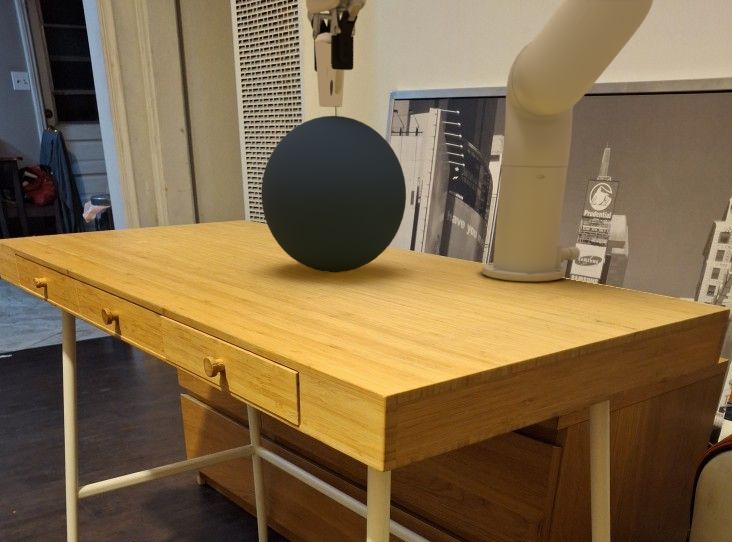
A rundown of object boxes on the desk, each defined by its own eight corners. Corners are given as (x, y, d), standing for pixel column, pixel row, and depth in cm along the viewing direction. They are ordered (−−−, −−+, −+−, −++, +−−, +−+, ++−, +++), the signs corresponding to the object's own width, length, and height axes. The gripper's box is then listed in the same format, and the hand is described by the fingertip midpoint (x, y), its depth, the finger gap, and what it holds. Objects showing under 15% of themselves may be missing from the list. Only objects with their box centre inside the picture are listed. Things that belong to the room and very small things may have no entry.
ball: (361, 257, 133) (363, 117, 123) (430, 277, 116) (438, 116, 106) (244, 266, 124) (235, 115, 114) (300, 289, 107) (296, 113, 97)
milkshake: (352, 107, 108) (353, 24, 103) (315, 106, 107) (314, 23, 103) (351, 107, 112) (352, 27, 107) (314, 106, 111) (314, 26, 107)
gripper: (390, -101, 94) (386, 68, 102) (329, -73, 108) (330, 74, 116) (336, -109, 91) (337, 65, 99) (280, -79, 104) (285, 73, 113)
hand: (333, 69), depth 107 cm, fingers closed on milkshake, 4 cm apart
